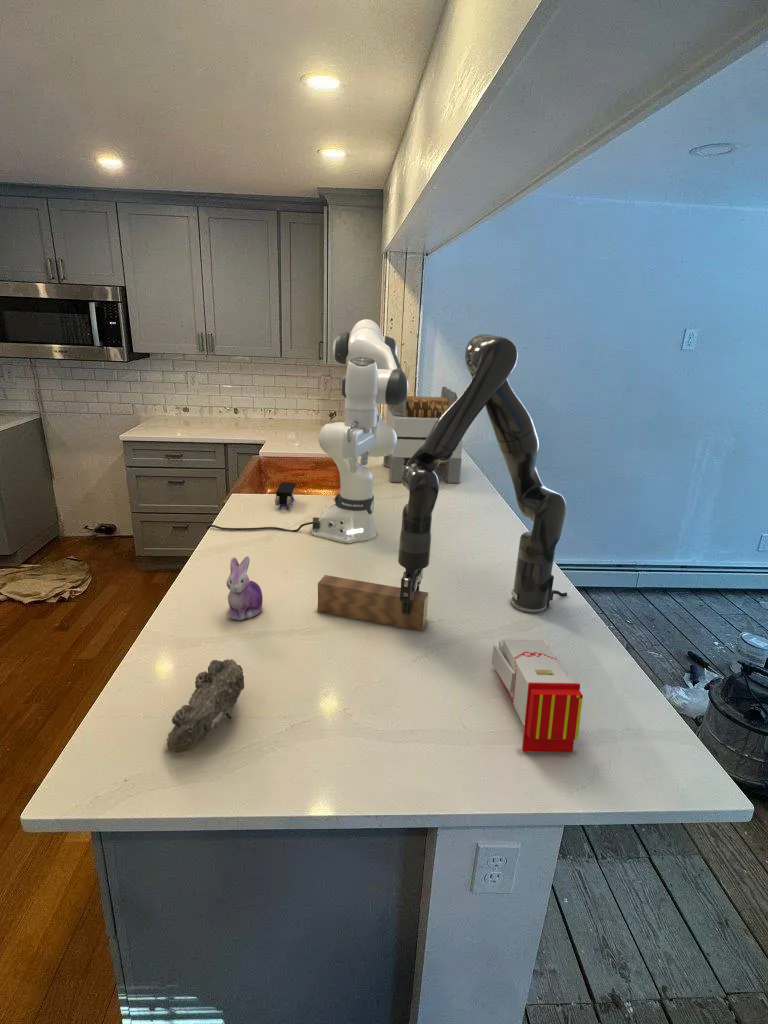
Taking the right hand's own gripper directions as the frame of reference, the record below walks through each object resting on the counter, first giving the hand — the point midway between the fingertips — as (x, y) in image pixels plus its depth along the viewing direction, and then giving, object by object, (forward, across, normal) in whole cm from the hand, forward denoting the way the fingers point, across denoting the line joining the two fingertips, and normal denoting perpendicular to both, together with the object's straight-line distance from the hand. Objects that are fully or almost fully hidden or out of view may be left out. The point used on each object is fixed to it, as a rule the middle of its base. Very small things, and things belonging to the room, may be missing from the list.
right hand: (410, 605), depth 141 cm
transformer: (+4, +138, +28) cm, 141 cm away
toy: (+5, -22, -30) cm, 38 cm away
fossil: (+6, -46, +28) cm, 54 cm away
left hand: (-27, +24, +22) cm, 42 cm away
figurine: (+6, -9, +41) cm, 42 cm away
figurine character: (+5, +70, +67) cm, 97 cm away
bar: (+5, 0, +10) cm, 11 cm away
